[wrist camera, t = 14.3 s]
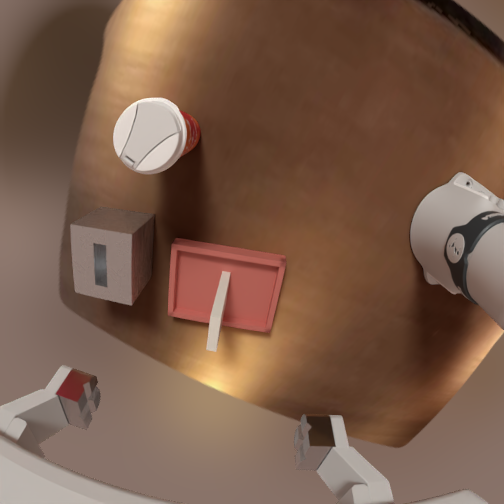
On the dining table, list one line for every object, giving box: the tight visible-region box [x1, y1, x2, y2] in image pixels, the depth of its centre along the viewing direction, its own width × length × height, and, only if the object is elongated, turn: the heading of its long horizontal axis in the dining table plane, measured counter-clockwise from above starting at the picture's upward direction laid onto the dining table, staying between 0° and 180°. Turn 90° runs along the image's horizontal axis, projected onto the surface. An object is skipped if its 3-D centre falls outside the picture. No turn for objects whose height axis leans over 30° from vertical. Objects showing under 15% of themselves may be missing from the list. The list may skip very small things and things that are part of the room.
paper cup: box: [113, 98, 200, 174], centre depth 34 cm, size 8×8×14 cm
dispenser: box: [71, 207, 155, 306], centre depth 42 cm, size 9×10×9 cm
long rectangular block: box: [207, 271, 231, 351], centre depth 42 cm, size 1×5×12 cm, turn 171°
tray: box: [168, 238, 286, 333], centre depth 47 cm, size 16×12×2 cm
